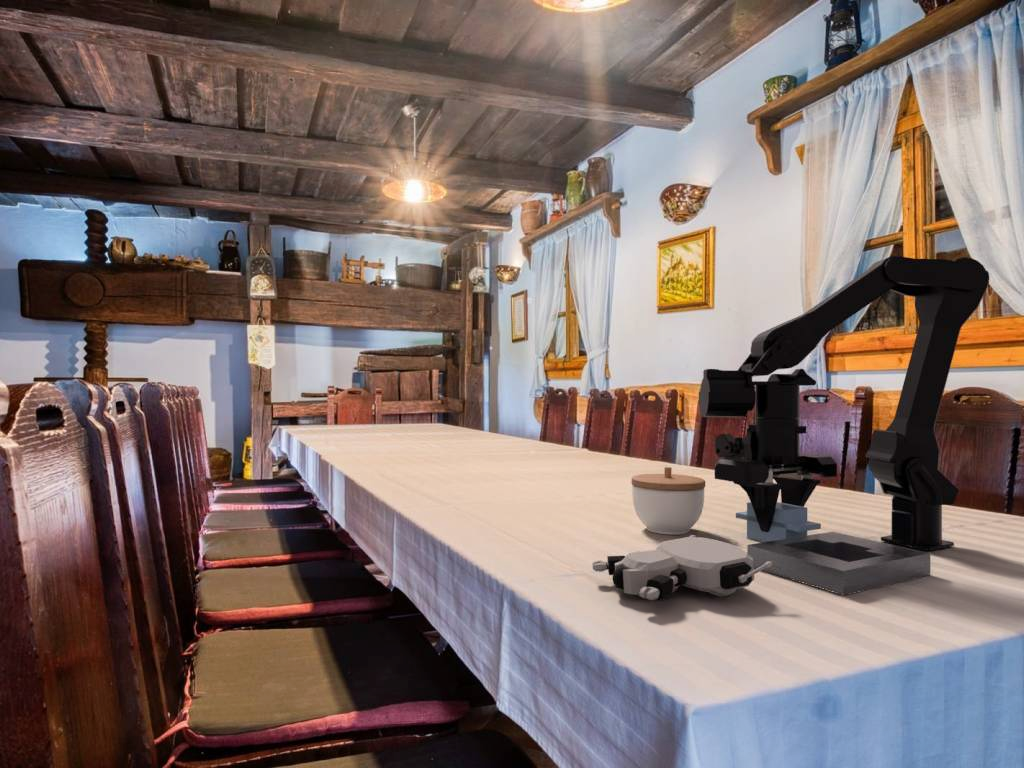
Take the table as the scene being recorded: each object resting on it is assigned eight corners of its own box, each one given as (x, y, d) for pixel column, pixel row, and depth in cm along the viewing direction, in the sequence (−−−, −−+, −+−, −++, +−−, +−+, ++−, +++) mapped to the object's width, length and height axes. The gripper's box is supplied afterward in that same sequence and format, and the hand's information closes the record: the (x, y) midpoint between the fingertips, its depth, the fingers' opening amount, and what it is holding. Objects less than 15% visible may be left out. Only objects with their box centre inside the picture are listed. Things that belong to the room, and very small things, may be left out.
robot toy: (650, 630, 56) (779, 599, 61) (647, 580, 56) (776, 554, 61) (586, 589, 67) (699, 566, 73) (583, 548, 67) (697, 528, 72)
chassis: (832, 550, 81) (832, 531, 81) (930, 574, 70) (930, 552, 71) (747, 565, 73) (747, 544, 73) (843, 595, 63) (843, 571, 63)
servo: (763, 530, 93) (764, 497, 93) (828, 546, 83) (828, 509, 84) (735, 534, 90) (735, 500, 90) (799, 551, 81) (799, 512, 81)
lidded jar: (616, 529, 93) (617, 466, 93) (657, 519, 100) (658, 461, 100) (679, 542, 85) (679, 474, 85) (718, 531, 92) (719, 468, 92)
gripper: (773, 415, 98) (772, 514, 98) (685, 416, 89) (684, 525, 89) (839, 418, 88) (839, 527, 88) (748, 419, 79) (747, 541, 79)
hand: (776, 529), depth 86 cm, fingers closed on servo, 4 cm apart
